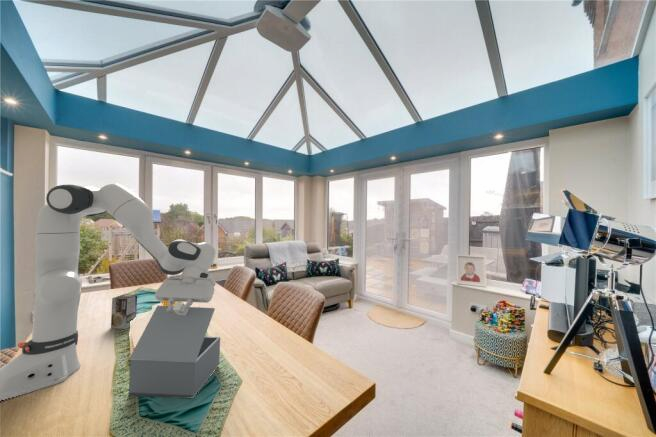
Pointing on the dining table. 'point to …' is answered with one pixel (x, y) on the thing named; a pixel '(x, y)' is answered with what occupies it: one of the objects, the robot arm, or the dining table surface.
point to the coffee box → (123, 311)
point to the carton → (174, 373)
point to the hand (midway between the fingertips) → (175, 312)
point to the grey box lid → (174, 334)
